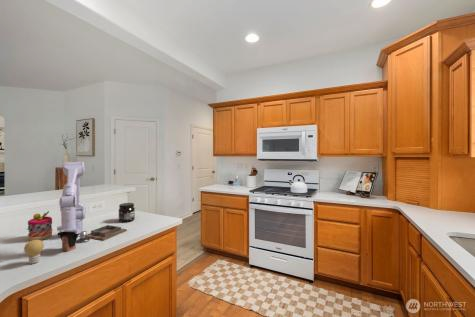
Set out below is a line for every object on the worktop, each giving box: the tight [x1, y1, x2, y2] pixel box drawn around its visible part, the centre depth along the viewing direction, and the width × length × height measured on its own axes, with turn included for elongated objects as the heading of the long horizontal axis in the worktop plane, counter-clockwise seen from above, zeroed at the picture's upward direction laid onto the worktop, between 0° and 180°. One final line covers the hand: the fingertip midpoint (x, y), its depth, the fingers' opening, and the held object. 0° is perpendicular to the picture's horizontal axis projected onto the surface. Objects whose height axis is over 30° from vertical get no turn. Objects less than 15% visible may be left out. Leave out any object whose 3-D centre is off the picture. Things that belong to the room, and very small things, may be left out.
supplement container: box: [118, 202, 136, 224], centre depth 156 cm, size 10×10×12 cm
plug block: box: [61, 236, 77, 253], centre depth 109 cm, size 4×4×7 cm
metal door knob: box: [76, 230, 91, 244], centre depth 120 cm, size 6×6×5 cm
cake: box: [27, 210, 53, 242], centre depth 124 cm, size 10×11×15 cm
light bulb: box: [23, 240, 45, 265], centre depth 96 cm, size 6×6×10 cm
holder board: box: [86, 224, 128, 241], centre depth 131 cm, size 15×16×3 cm
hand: (69, 245), depth 109 cm, fingers closed on plug block, 4 cm apart
